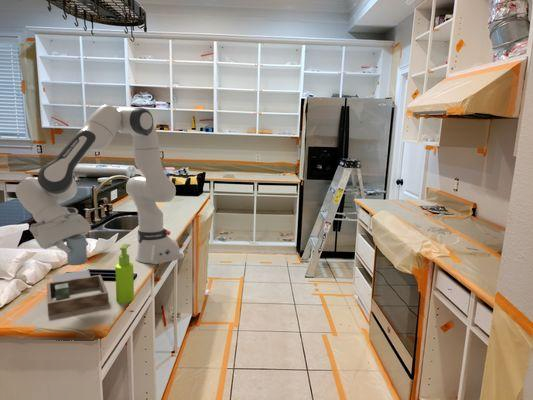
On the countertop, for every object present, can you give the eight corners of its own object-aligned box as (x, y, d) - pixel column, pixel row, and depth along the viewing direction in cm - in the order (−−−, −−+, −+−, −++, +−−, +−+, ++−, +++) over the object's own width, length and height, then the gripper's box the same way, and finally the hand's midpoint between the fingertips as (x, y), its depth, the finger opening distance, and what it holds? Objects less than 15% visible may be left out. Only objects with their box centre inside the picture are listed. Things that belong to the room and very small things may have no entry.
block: (68, 293, 132) (67, 283, 131) (68, 297, 129) (68, 287, 128) (55, 295, 130) (55, 285, 129) (56, 299, 127) (55, 289, 126)
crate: (101, 284, 141) (100, 274, 140) (108, 303, 126) (107, 292, 125) (47, 293, 131) (46, 282, 130) (48, 315, 116) (47, 303, 115)
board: (88, 273, 151) (88, 269, 150) (91, 281, 143) (91, 277, 143) (52, 278, 144) (52, 275, 144) (53, 287, 136) (53, 283, 136)
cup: (86, 258, 129) (85, 234, 127) (88, 263, 124) (86, 238, 122) (67, 260, 125) (65, 235, 124) (68, 266, 120) (66, 240, 119)
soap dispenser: (137, 295, 133) (136, 243, 130) (130, 303, 126) (129, 249, 123) (121, 294, 133) (119, 242, 129) (113, 303, 126) (112, 248, 123)
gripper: (31, 219, 113) (59, 252, 113) (79, 207, 133) (103, 235, 132) (21, 231, 115) (48, 264, 114) (69, 218, 134) (93, 245, 134)
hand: (78, 248), depth 123 cm, fingers closed on cup, 6 cm apart
